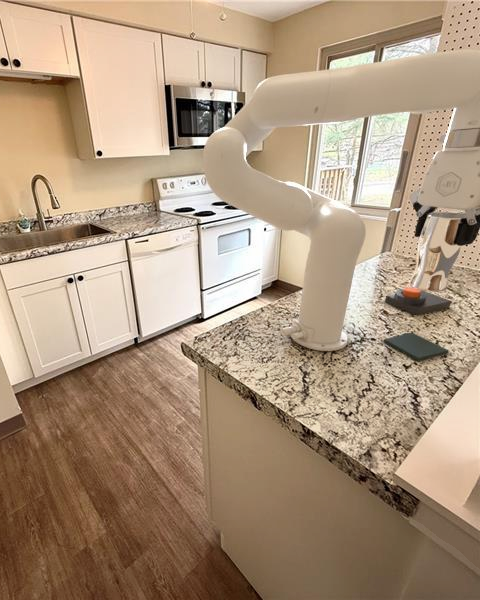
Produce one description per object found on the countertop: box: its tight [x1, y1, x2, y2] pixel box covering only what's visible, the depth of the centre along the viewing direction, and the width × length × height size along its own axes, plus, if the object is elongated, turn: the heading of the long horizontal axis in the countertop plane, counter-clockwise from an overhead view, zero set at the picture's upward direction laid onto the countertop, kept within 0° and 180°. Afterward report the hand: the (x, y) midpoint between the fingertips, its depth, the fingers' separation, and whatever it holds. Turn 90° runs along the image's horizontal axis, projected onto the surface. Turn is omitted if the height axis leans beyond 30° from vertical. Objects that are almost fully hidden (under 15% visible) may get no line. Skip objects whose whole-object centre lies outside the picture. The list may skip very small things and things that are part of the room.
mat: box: [383, 332, 449, 362], centre depth 70 cm, size 8×8×1 cm
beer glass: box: [408, 211, 467, 293], centre depth 63 cm, size 7×7×15 cm
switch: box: [402, 286, 421, 298], centre depth 84 cm, size 4×4×2 cm
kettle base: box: [384, 288, 452, 316], centre depth 86 cm, size 12×9×4 cm
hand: (441, 239), depth 61 cm, fingers closed on beer glass, 7 cm apart
